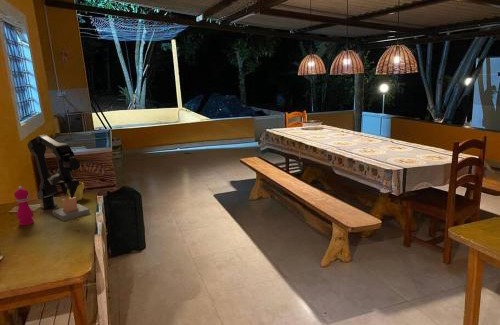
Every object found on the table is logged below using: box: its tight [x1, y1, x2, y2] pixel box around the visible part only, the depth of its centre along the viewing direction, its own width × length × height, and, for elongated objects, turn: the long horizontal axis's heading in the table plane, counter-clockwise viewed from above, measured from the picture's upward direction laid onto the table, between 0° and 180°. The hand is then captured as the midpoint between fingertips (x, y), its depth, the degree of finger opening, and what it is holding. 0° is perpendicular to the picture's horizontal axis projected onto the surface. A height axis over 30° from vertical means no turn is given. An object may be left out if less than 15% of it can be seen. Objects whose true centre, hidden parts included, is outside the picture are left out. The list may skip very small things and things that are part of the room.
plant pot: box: [67, 181, 85, 202], centre depth 221 cm, size 10×10×10 cm
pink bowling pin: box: [13, 185, 34, 226], centre depth 183 cm, size 7×7×20 cm
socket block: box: [51, 203, 90, 222], centre depth 196 cm, size 14×14×3 cm
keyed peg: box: [61, 196, 78, 213], centre depth 196 cm, size 6×4×9 cm, turn 139°
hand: (68, 196), depth 194 cm, fingers open, 9 cm apart
